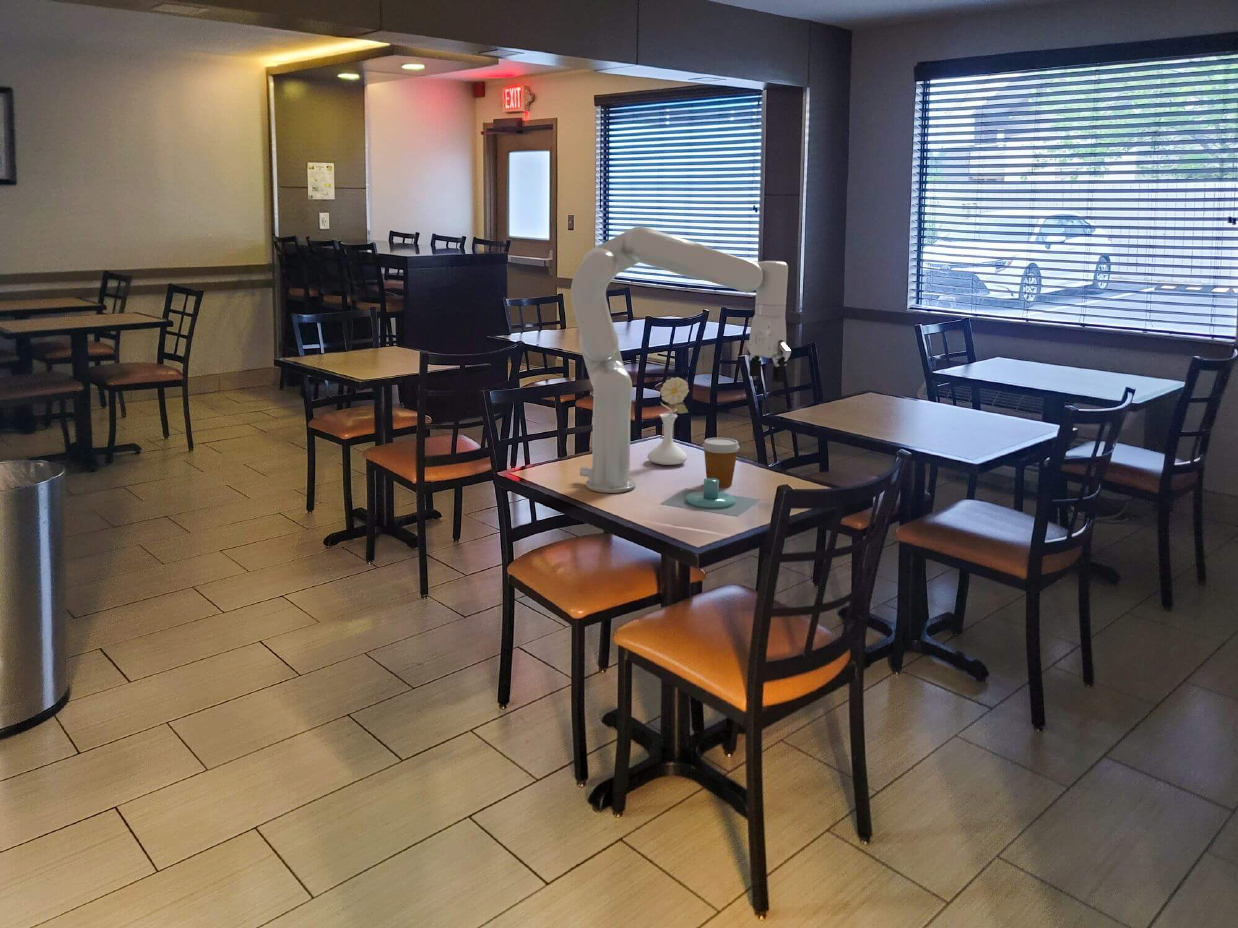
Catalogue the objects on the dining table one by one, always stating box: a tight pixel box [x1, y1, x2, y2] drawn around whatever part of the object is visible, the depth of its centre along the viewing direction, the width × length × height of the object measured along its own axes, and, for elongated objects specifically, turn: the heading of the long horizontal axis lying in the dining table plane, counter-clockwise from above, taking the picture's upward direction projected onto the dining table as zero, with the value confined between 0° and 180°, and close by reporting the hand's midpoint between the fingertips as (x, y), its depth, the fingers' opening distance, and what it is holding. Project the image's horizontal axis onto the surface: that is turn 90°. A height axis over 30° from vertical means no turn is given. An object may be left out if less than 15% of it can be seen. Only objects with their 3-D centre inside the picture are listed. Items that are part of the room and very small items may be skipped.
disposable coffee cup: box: [702, 437, 740, 489], centre depth 256 cm, size 10×10×12 cm
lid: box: [686, 477, 735, 509], centre depth 242 cm, size 12×12×6 cm
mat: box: [659, 487, 761, 518], centre depth 242 cm, size 20×16×1 cm
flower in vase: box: [646, 376, 690, 466], centre depth 277 cm, size 13×11×25 cm
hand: (766, 378), depth 253 cm, fingers open, 9 cm apart
